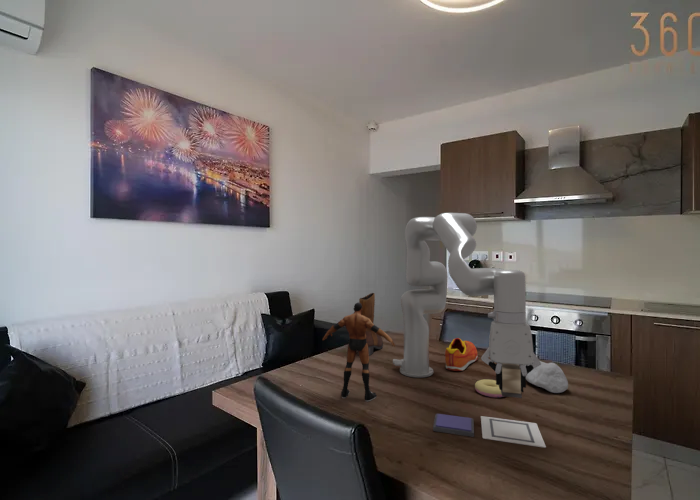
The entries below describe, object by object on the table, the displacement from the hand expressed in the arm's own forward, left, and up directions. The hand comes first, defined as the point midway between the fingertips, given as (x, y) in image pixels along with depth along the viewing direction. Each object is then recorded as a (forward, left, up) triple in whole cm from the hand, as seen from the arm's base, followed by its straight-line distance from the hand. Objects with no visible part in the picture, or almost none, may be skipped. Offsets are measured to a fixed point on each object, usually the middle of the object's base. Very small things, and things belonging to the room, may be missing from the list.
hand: (510, 388), depth 91 cm
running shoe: (-12, +55, -12) cm, 58 cm away
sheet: (0, 0, -11) cm, 11 cm away
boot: (-54, +62, -11) cm, 83 cm away
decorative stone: (+13, +37, -11) cm, 41 cm away
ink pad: (-14, -2, -11) cm, 18 cm away
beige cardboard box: (0, 0, -1) cm, 1 cm away
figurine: (-44, +9, -11) cm, 46 cm away
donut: (-3, +25, -12) cm, 28 cm away
